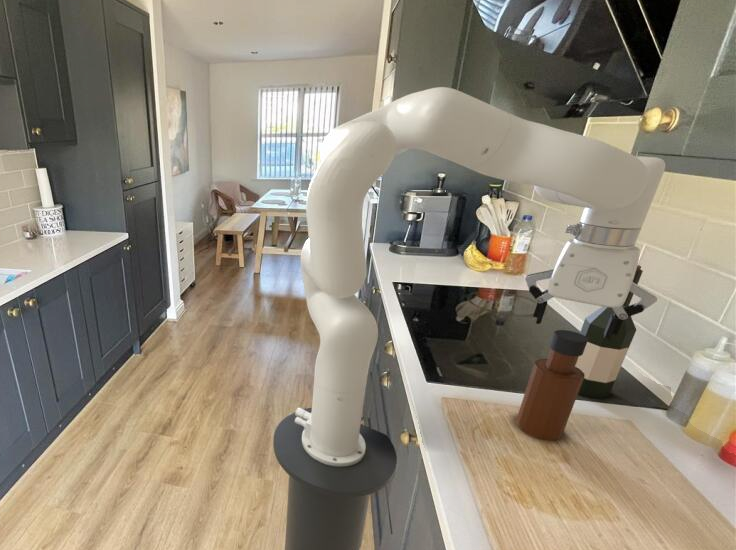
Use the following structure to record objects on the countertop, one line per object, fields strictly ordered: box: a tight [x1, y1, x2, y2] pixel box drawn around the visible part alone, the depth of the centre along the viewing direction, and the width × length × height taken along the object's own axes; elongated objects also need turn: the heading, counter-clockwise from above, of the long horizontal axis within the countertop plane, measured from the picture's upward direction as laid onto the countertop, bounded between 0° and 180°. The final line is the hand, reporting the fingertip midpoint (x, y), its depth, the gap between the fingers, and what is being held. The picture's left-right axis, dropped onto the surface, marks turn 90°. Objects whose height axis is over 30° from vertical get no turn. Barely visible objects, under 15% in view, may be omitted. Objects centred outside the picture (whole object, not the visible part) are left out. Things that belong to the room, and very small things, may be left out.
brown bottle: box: [515, 348, 584, 441], centre depth 77 cm, size 7×7×18 cm
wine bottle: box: [575, 264, 644, 399], centre depth 87 cm, size 8×8×30 cm
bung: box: [549, 329, 588, 356], centre depth 73 cm, size 5×5×6 cm
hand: (571, 328), depth 72 cm, fingers open, 9 cm apart
